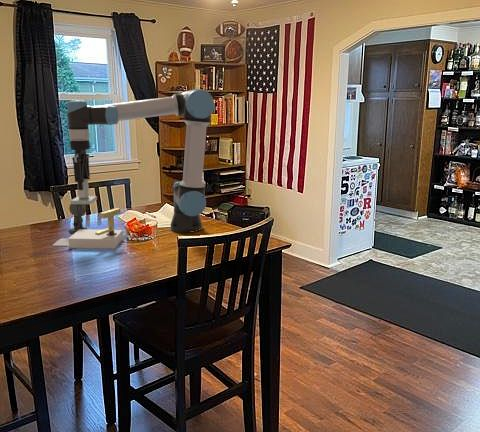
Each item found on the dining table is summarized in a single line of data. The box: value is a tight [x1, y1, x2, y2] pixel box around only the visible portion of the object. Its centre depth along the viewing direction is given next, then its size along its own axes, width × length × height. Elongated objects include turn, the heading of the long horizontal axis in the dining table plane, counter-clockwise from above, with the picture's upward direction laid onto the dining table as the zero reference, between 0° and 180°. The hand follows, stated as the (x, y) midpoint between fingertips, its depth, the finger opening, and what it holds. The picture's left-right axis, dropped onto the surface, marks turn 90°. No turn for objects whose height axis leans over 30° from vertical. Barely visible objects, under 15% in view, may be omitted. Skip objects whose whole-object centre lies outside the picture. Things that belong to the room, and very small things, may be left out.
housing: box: [68, 228, 124, 249], centre depth 201 cm, size 19×14×4 cm
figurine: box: [67, 203, 88, 235], centre depth 216 cm, size 9×10×15 cm
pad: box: [51, 237, 69, 247], centre depth 202 cm, size 8×10×1 cm
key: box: [95, 207, 122, 235], centre depth 198 cm, size 14×2×10 cm, turn 153°
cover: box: [70, 179, 98, 205], centre depth 196 cm, size 8×9×10 cm
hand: (83, 196), depth 197 cm, fingers closed on cover, 4 cm apart
